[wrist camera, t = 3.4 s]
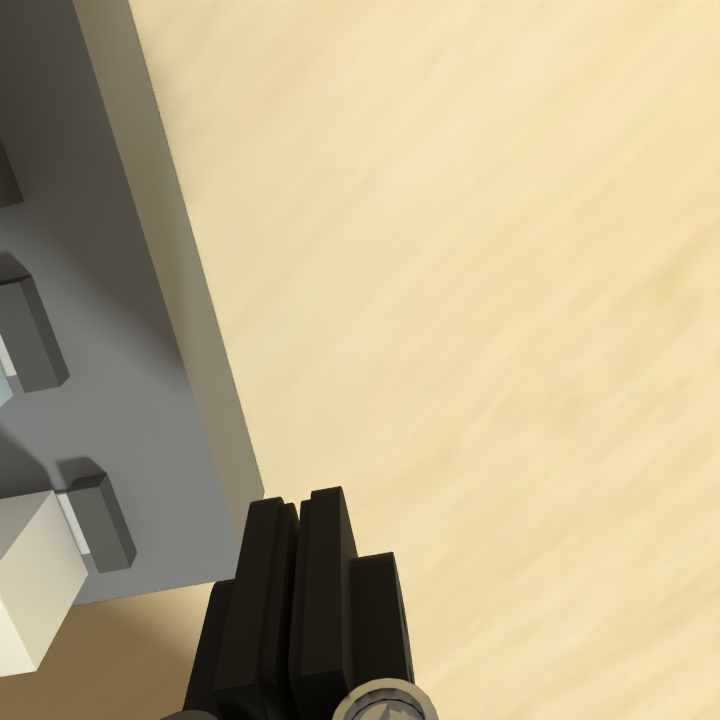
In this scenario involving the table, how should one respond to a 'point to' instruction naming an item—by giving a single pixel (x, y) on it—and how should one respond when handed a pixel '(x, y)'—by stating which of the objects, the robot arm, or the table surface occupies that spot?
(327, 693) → the robot arm
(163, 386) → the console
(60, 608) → the slider white
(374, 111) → the table surface
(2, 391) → the slider blue
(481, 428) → the table surface
